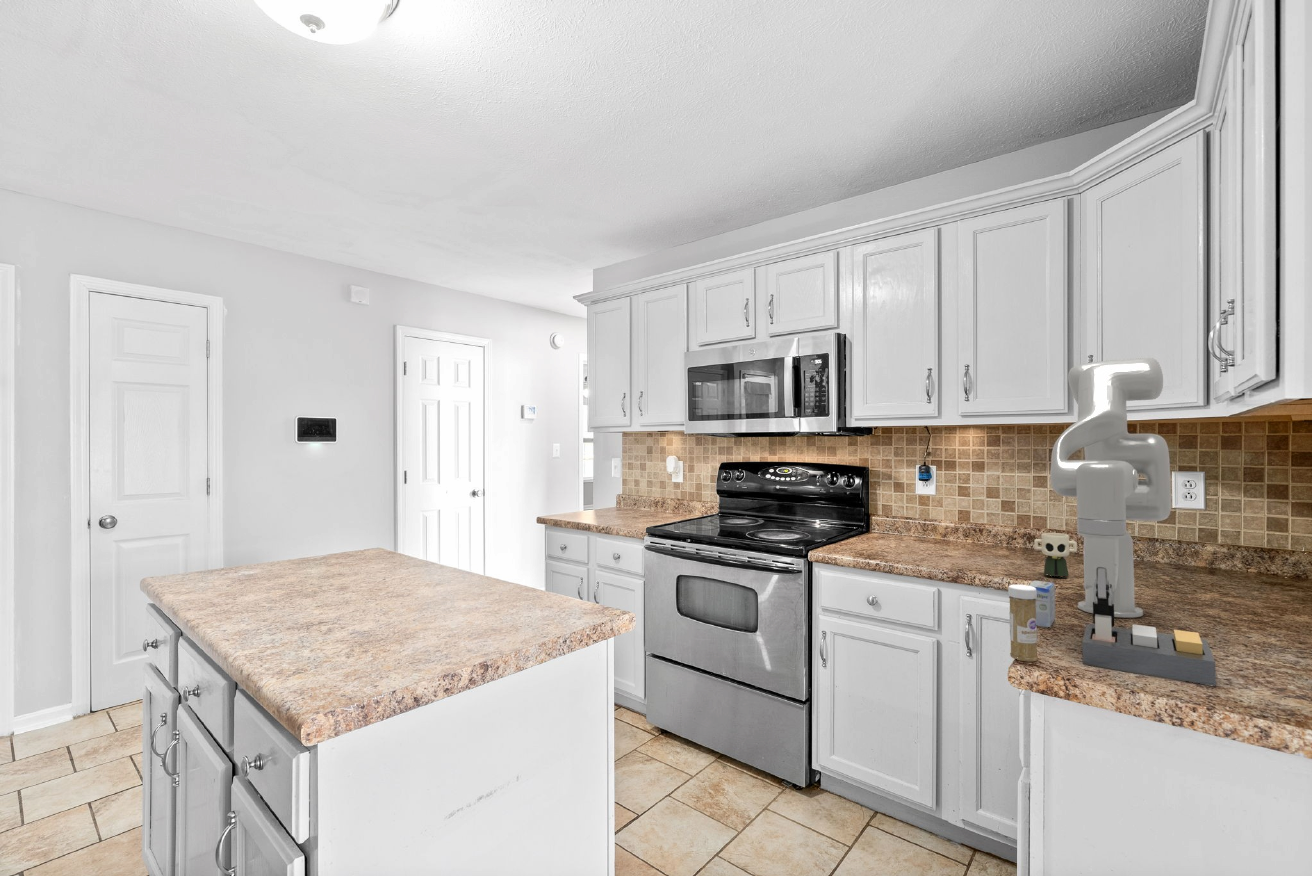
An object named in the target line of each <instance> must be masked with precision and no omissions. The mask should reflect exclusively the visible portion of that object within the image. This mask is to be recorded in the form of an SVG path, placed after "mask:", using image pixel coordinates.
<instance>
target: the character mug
mask: <svg viewBox="0 0 1312 876" xmlns="http://www.w3.org/2000/svg"><path fill="white" fill-rule="evenodd" d="M1040 536H1041V539H1040V538H1036V539H1034V540H1033V541H1034V544H1033V545H1034V550H1036V551H1041V552H1042V554H1043V555H1046V556H1047V557H1045V560H1044V568H1043V574H1044V575H1045V574H1048V575H1051V577H1052V576H1054V577H1055V576H1057V577H1058V576H1069V569H1068V564H1067V560H1066V558H1065V557H1068V556H1069V555H1070V553H1076V552H1078V543H1077V541H1075V540H1070V534H1065V533H1058V532H1044V533H1043V532H1042V533H1041V535H1040ZM1039 543H1041V546H1039ZM1070 545H1072V548H1070Z"/></svg>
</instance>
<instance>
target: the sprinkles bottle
mask: <svg viewBox="0 0 1312 876" xmlns="http://www.w3.org/2000/svg"><path fill="white" fill-rule="evenodd" d="M1007 591H1008V594H1007V595H1008V598H1009V640H1010V653H1009V656H1010V657H1011V658H1012V659H1014V660H1016V659H1017V660H1016V661H1020V662H1027V663H1028V662H1031V663H1032V662H1037V661H1038V659H1039V658H1038V629H1037V627H1038V626H1036V599H1035V598H1037V591H1036V588H1035V587H1032V586H1029V585H1028V584H1010V585H1008V589H1007ZM1017 657H1018V658H1017Z"/></svg>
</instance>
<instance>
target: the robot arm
mask: <svg viewBox="0 0 1312 876" xmlns="http://www.w3.org/2000/svg"><path fill="white" fill-rule="evenodd" d="M1067 381H1068V385H1069V388H1070V391H1071V394H1072V396H1073V398H1074V400H1075V402H1076V404H1077V421H1076V422H1074V423H1073V424H1071V425H1070V426H1068V428H1066V429H1065V430H1064V431H1062V433H1061V434H1060V435H1059V437H1058V438H1057V440H1056V441H1055V442H1054V444H1053V448H1052V449H1051V450H1052V451H1051V457H1050V458H1051V461H1050V485H1051V489H1052V490H1053V492H1055V493H1056V494H1057V495H1058V496H1062V497H1069V498H1076V517H1077V518H1076V520H1077V521H1076V522H1077V525H1076V526H1077V535H1078V536H1082V537H1083V588H1084V591H1085V592H1084V593H1085V600H1082V601H1079V602H1077V607H1078V609H1079V610H1081V611H1083V612H1086V613H1088V614H1089V613H1090V614H1092V620H1093V623H1092V624H1094V625H1095V614H1097V615H1105V616H1111V626H1112V627H1115V618H1122V619H1123V618H1126V619H1127V618H1128V619H1130V618H1131V619H1132V618H1140V617H1142V616H1144V610H1143V609H1142V608H1141V607H1140V606H1139V607H1138V606H1136V605H1135V603H1136V602H1135V574H1134V573H1135V572H1134V571H1135V570H1134V567H1135V566H1134V542H1133V538H1132V535H1131V534H1130V533H1129V532H1128V530H1127V521H1137V522H1138V521H1139V522H1140V521H1141V522H1161V521H1164V520H1167V519H1168V518H1169V516H1170V515H1171V509H1172V489H1171V466H1170V452H1169V451H1170V450H1169V446H1168V443H1167V441H1166V440H1165V438H1164V437H1162V435H1159V434H1155V433H1129V432H1128V415H1127V413H1128V412H1127V411H1128V410H1127V402H1130V401H1152V400H1156V399H1158V398H1159V397H1160V396H1161V394H1162V392H1163V388H1164V374H1163V371H1162V367H1161V365H1160V363H1159V361H1157V359H1155V358H1154V357H1153V358H1152V357H1144V358H1143V357H1142V358H1132V359H1131V358H1129V359H1118V360H1117V359H1115V360H1101V361H1093V362H1085V363H1079V364H1077V365H1075V366H1073V367H1071V368H1070V369H1069V371H1068V375H1067ZM1083 448H1084V449H1083ZM1080 449H1083V450H1084V459H1082V460H1081V459H1072V460H1071V459H1069V457H1070V456H1071V455H1072V454H1073V453H1076V452H1077V451H1079V450H1080ZM1139 475H1141V476H1143V477H1145V479H1139Z"/></svg>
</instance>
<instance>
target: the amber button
mask: <svg viewBox="0 0 1312 876" xmlns="http://www.w3.org/2000/svg"><path fill="white" fill-rule="evenodd" d="M1173 635H1174V642H1175V646H1176V650H1177V651H1181V652H1188V653H1195V654H1202V655H1203V646H1202V642H1201V639H1202V638H1201V637H1200V636H1201V635H1200V634H1199V632H1194V631H1187V630H1179V629H1173Z"/></svg>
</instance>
